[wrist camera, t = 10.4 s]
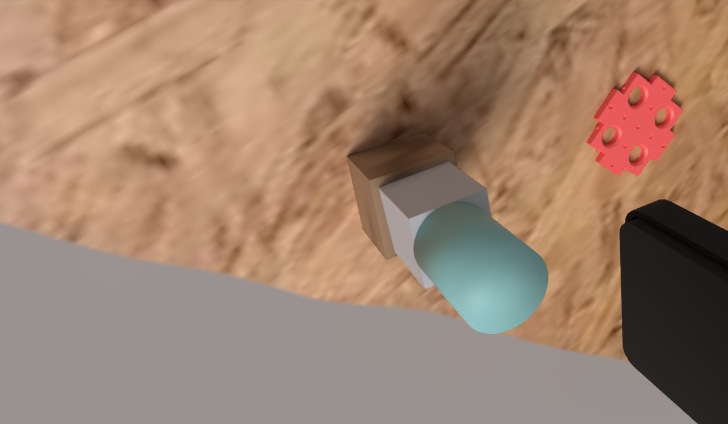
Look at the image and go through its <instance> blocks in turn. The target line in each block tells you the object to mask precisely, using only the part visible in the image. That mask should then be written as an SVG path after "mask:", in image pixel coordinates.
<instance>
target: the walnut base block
mask: <svg viewBox="0 0 728 424" xmlns="http://www.w3.org/2000/svg"><path fill="white" fill-rule="evenodd" d="M347 160H348V165H349V169H350V174H351V178H352V183H353V187H354V192H355V196H356V201H357V205H358V210H359V214H360V219H361V223H362V228H363V230H364V232H365V233H366V234H367V236H368V237H369V238H370V239H371V241H372V242H373V243H374V245H375V246H376V247H377V249H378V250H379V251H380V253H381V254H382V255H383V256H384V258H385V259H389V258H392V257H395V256H398V255H397V254H396V253H395V251H394V247H393V243H392V239H391V235H390V231H389V227H388V223H387V219H386V215H385V211H384V207H383V203H382V200H381V196H380V192H379V187H382V186H385V185H387V184H390V183H393V182H395V181H398V180H401V179H403V178H406V177H409V176H411V175H414V174H417V173H419V172H422V171H424V170H427V169H430V168H432V167H435V166H438V165H440V164H443V163H446V162H448V161H449V162H450V163H452V164H453V165H454V166H456V167H457V164H456V156H455V152H453V151H452V150H450V149H449V148H447V147H446V146H444V145H443V144H441V143H440V142H438V141H437V140H435V139H434V138H433V137H431V136H430V135H428V134H427V133H425V132H423V133H420V134H417V135H414V136H410V137H407V138H404V139H401V140H398V141H394V142H391V143H388V144H385V145H382V146H378V147H375V148H372V149H369V150H366V151H362V152H359V153H356V154H353V155H350V156H347Z"/></svg>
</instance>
